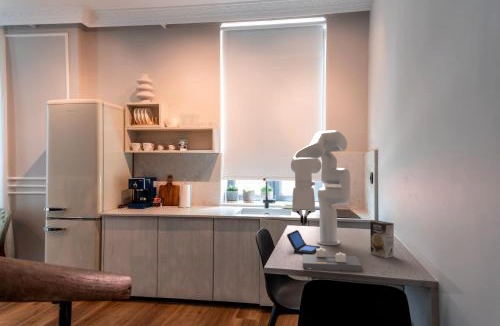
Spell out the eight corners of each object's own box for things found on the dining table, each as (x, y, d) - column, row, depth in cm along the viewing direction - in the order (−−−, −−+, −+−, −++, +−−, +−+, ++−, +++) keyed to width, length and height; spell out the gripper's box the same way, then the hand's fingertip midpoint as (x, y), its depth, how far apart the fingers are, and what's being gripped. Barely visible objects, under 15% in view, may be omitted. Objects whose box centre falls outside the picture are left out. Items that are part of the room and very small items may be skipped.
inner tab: (316, 255, 153) (316, 247, 153) (325, 255, 152) (325, 247, 152) (316, 256, 150) (316, 248, 150) (325, 257, 149) (325, 249, 149)
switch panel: (303, 259, 156) (303, 254, 156) (356, 261, 152) (356, 255, 152) (303, 268, 142) (302, 262, 142) (361, 271, 138) (361, 265, 138)
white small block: (335, 260, 145) (335, 251, 145) (345, 260, 144) (344, 252, 144) (336, 262, 142) (336, 253, 142) (345, 262, 141) (345, 253, 141)
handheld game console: (311, 256, 163) (311, 237, 163) (286, 252, 169) (286, 234, 169) (321, 248, 176) (321, 231, 177) (297, 246, 183) (297, 229, 183)
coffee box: (369, 253, 165) (369, 221, 165) (378, 252, 168) (378, 220, 168) (385, 258, 157) (385, 224, 157) (394, 256, 160) (394, 222, 160)
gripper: (319, 184, 155) (320, 223, 155) (287, 184, 158) (287, 223, 157) (320, 185, 148) (320, 226, 148) (286, 185, 150) (286, 226, 150)
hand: (303, 224), depth 152 cm, fingers closed
